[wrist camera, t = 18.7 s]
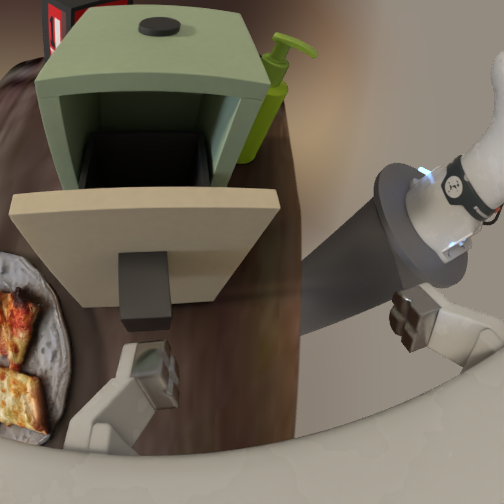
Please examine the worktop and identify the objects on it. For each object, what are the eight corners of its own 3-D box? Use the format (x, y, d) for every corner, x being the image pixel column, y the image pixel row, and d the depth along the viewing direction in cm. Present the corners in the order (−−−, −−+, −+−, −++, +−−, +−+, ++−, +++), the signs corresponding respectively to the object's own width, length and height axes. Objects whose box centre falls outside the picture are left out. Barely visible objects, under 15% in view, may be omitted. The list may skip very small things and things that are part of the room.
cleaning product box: (124, 101, 41) (134, -7, 24) (78, 123, 36) (71, 8, 19) (87, 66, 42) (90, -21, 25) (48, 83, 38) (42, -7, 21)
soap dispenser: (257, 172, 42) (318, 59, 25) (213, 155, 41) (256, 34, 24) (265, 147, 45) (320, 44, 28) (224, 131, 44) (267, 22, 27)
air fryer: (206, 238, 35) (275, 77, 16) (83, 242, 30) (32, 73, 11) (197, 152, 41) (242, 8, 21) (95, 152, 35) (89, 2, 16)
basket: (218, 338, 29) (299, 283, 13) (84, 347, 24) (-5, 297, 9) (200, 194, 35) (241, 68, 20) (89, 196, 31) (67, 64, 15)
